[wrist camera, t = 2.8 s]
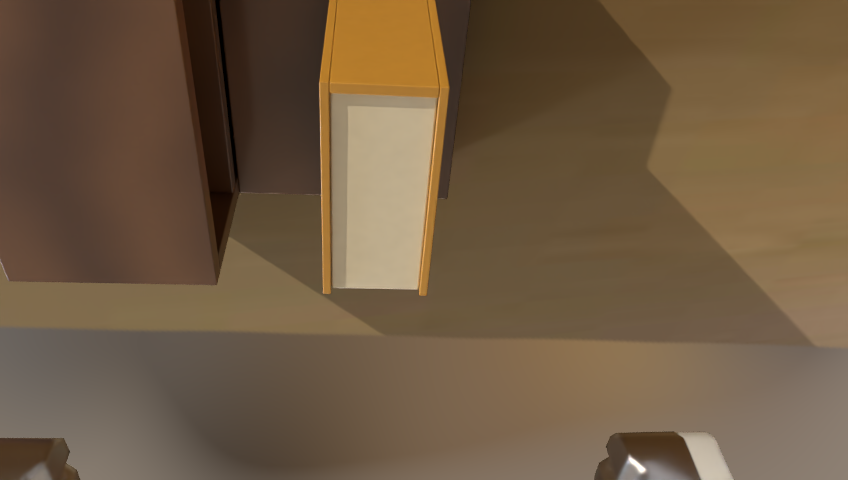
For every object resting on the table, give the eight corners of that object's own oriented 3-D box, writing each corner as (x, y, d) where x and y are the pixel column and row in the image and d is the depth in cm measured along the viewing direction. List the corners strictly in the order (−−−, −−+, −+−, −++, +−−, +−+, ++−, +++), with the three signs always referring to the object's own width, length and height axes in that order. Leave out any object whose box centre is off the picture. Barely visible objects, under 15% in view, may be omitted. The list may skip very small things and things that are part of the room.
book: (429, -38, 31) (449, 87, 22) (414, 142, 36) (427, 295, 28) (334, -43, 30) (318, 81, 22) (334, 139, 36) (323, 294, 28)
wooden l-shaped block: (475, -148, 32) (512, -68, 23) (442, 158, 42) (459, 289, 33) (-3, -183, 30) (-150, -110, 21) (84, 145, 40) (8, 281, 32)
